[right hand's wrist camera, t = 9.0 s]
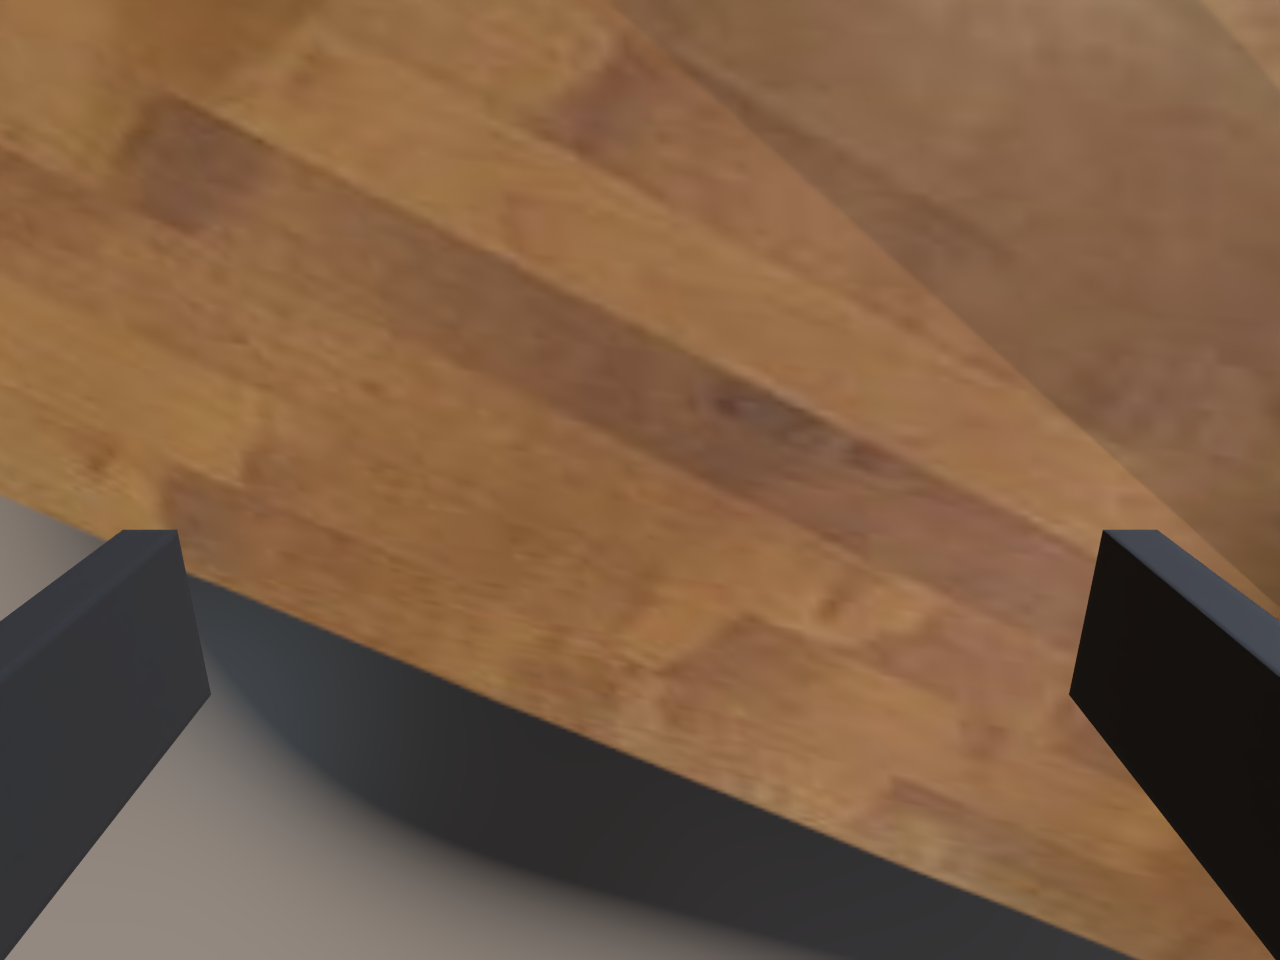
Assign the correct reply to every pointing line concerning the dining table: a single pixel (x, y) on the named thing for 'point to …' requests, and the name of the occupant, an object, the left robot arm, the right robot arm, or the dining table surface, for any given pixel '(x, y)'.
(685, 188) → the dining table surface
